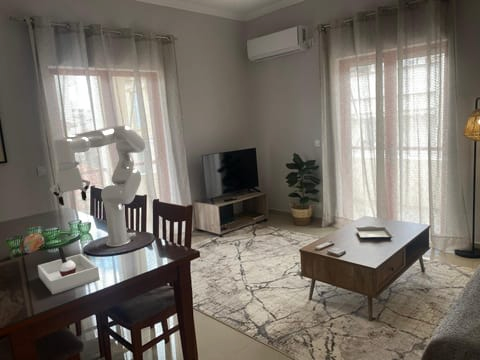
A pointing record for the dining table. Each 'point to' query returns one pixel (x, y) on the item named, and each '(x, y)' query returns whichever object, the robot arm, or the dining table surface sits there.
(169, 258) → the dining table surface
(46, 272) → the box
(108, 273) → the dining table surface
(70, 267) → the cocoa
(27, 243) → the tin
